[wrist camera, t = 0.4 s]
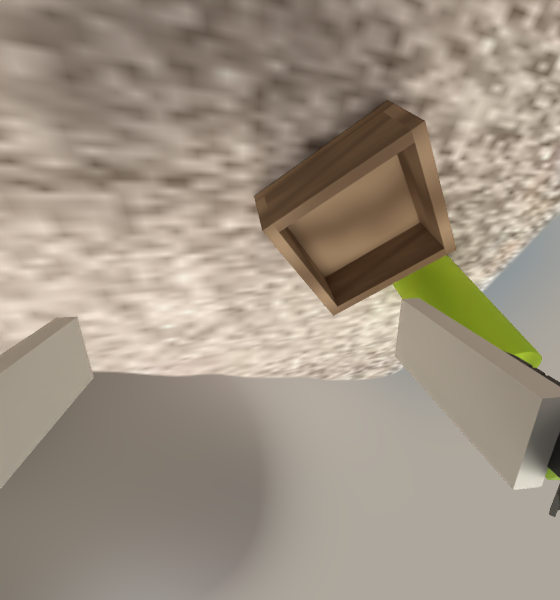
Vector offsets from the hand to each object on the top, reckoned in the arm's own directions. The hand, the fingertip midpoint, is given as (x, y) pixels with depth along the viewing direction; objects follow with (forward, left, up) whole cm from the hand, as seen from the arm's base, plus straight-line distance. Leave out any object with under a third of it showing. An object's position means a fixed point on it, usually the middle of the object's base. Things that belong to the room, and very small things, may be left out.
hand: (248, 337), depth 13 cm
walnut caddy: (+2, +10, -15) cm, 18 cm away
